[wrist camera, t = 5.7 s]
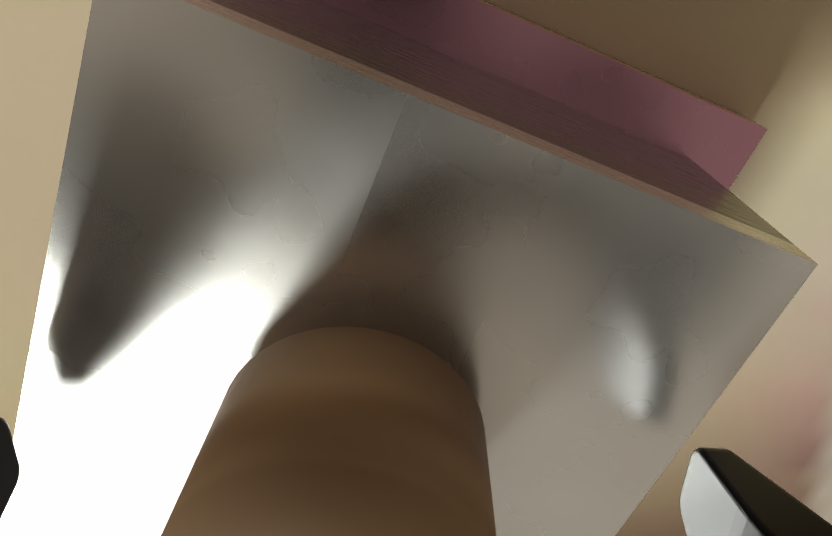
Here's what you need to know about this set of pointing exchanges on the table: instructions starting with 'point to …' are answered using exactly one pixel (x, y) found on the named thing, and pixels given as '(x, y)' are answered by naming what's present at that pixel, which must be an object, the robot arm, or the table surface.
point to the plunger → (341, 445)
